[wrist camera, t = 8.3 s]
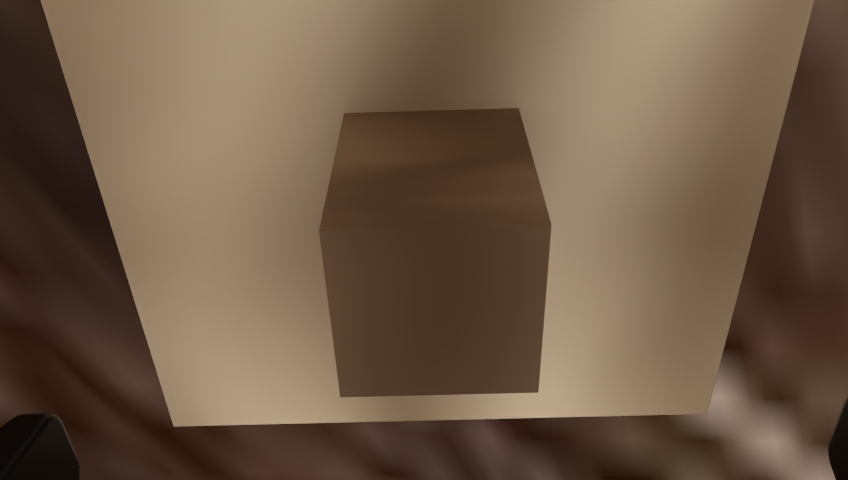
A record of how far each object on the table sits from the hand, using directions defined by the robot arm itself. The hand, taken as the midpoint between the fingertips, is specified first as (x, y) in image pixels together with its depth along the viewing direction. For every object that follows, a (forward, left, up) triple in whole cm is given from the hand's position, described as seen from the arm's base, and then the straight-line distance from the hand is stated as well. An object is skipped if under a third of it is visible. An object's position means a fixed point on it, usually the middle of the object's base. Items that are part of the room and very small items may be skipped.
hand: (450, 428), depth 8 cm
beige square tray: (0, +1, -7) cm, 7 cm away
